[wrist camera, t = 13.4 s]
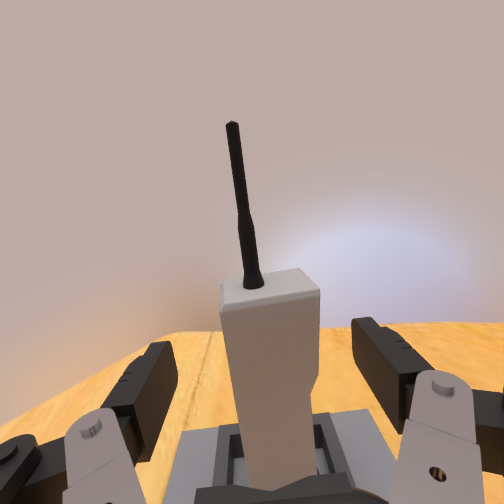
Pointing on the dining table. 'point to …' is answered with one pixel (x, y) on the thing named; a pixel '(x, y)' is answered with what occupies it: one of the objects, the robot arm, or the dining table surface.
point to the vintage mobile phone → (270, 354)
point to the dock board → (326, 447)
